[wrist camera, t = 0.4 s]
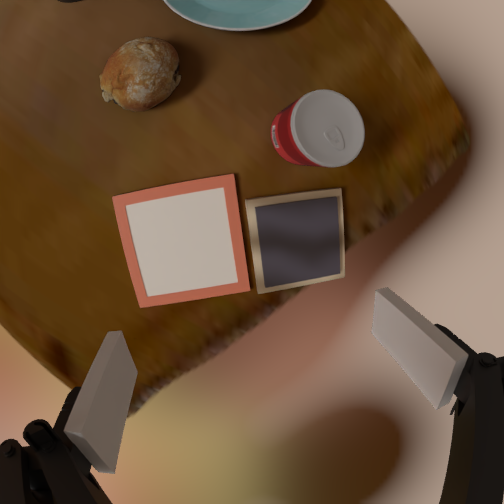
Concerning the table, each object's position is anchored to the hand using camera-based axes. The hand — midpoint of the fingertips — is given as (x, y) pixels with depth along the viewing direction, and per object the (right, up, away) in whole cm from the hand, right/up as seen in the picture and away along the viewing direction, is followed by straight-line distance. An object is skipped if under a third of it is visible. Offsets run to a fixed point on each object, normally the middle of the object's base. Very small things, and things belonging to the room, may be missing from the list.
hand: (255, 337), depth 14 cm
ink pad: (+6, +6, +26) cm, 27 cm away
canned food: (+6, +19, +22) cm, 30 cm away
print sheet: (-9, +5, +24) cm, 26 cm away
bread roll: (-14, +27, +17) cm, 35 cm away
